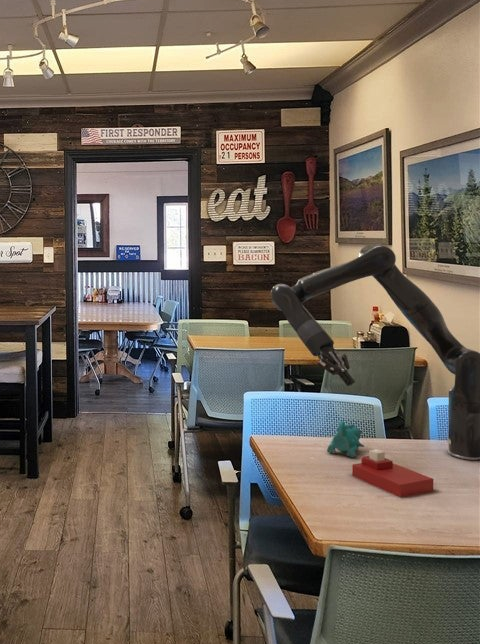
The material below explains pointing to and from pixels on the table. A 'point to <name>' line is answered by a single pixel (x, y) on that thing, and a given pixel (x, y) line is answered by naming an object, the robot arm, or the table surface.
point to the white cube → (377, 455)
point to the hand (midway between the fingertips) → (351, 384)
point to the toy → (346, 440)
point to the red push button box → (392, 477)
